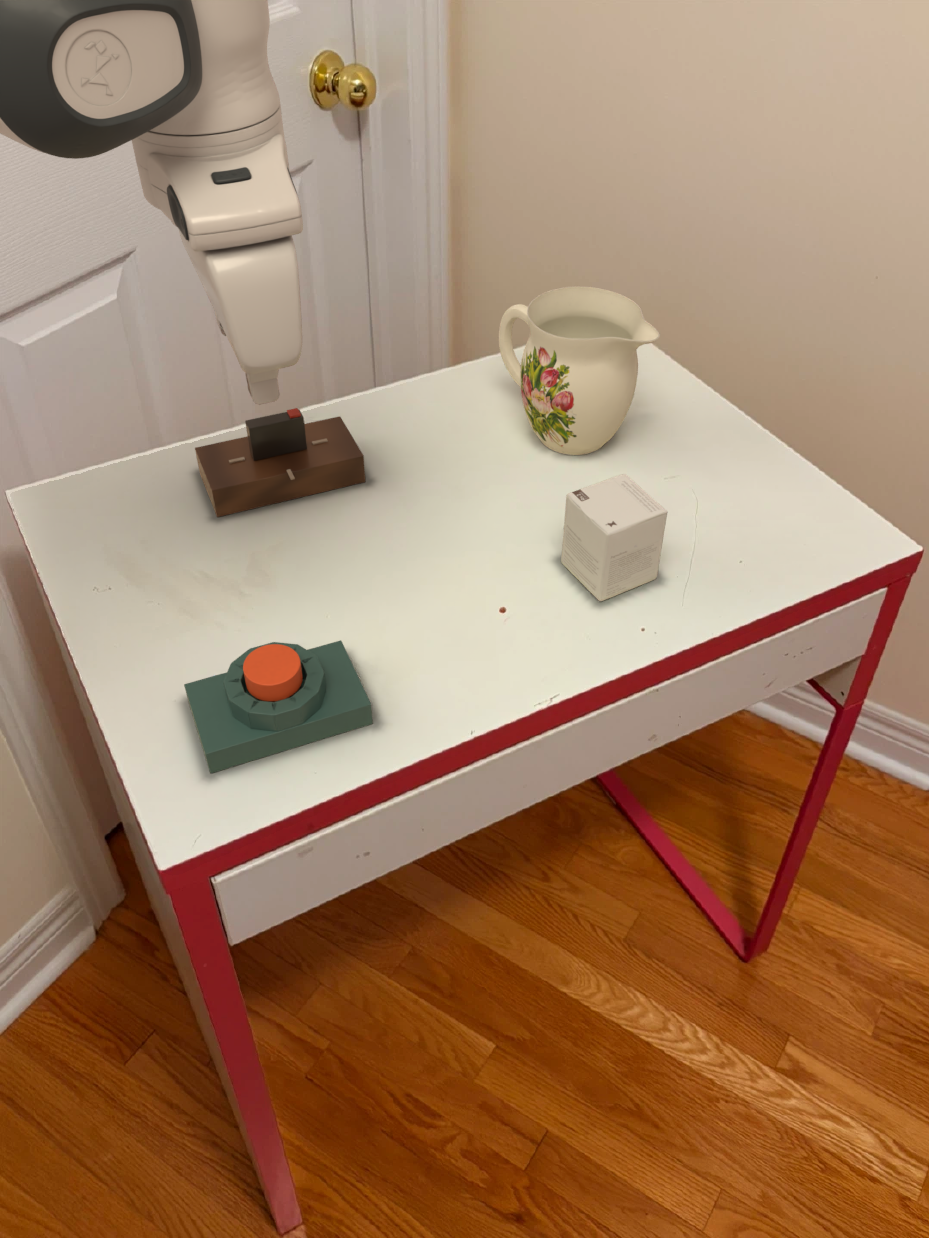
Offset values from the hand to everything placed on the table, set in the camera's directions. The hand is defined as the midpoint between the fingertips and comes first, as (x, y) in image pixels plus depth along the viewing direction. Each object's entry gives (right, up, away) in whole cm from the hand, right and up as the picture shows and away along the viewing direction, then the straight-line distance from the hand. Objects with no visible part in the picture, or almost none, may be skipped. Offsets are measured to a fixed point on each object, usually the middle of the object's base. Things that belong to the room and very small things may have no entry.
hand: (247, 362), depth 72 cm
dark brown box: (-2, -2, +23) cm, 24 cm away
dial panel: (-2, -5, +26) cm, 26 cm away
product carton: (+27, -14, +17) cm, 35 cm away
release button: (+1, -22, +2) cm, 22 cm away
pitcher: (+25, +1, +32) cm, 40 cm away
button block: (+1, -25, +5) cm, 25 cm away
